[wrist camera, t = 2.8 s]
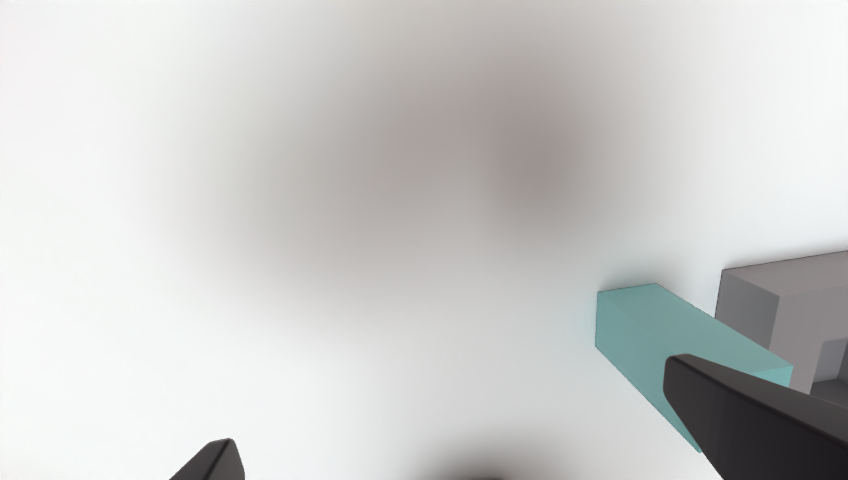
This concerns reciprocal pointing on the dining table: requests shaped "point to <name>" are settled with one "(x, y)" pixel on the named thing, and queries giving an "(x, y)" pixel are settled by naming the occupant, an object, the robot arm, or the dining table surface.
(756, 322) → the socket block
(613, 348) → the teal rectangular block
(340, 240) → the dining table surface
